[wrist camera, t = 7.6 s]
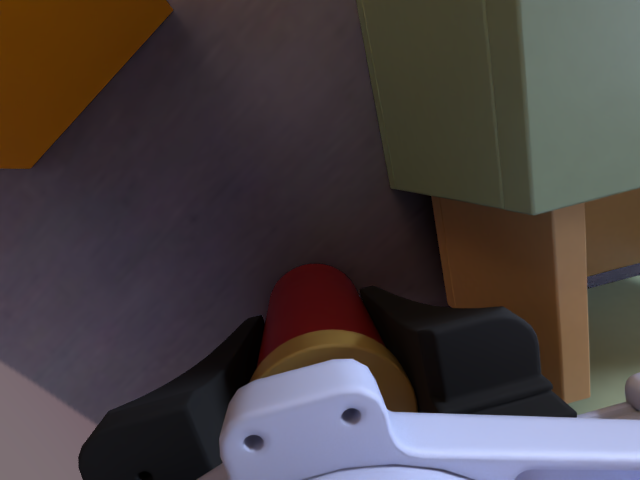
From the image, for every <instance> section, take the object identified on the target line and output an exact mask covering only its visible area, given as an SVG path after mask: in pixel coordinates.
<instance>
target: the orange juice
mask: <svg viewBox="0 0 640 480" xmlns="http://www.w3.org/2000/svg"><path fill="white" fill-rule="evenodd" d="M172 11H173V9H172V7H171V6H170V5H169V3H168V2H167V1H166V0H0V169H31V168H32V166H33V165H34V164H35V163H36V162H37V161H38V160H39V159H40V158H41V156H42V155H43V154H44V153H45V152H46V151H47V150H48V149H49V148H50V146H51V145H52V144H53V143H54V142H55V141H56V140H57V139H58V138H59V137H60V135H61V134H62V133H63V132H64V131H65V130H66V129H67V128H68V127H69V125H70V124H71V123H72V122H73V121H74V120H75V119H76V118H77V117H78V115H79V114H80V113H81V112H82V111H83V110H84V109H85V108H86V107H87V105H88V104H89V103H90V102H91V101H92V100H93V99H94V98H95V97H96V96H97V94H98V93H99V92H100V91H101V90H102V89H103V88H104V87H105V86H106V84H107V83H108V82H109V81H110V80H111V79H112V78H113V77H114V76H115V74H116V73H117V72H118V71H119V70H120V69H121V68H122V67H123V66H124V64H125V63H126V62H127V61H128V60H129V59H130V58H131V57H132V56H133V55H134V53H135V52H136V51H137V50H138V49H139V48H140V47H141V46H142V45H143V43H144V42H145V41H146V40H147V39H148V38H149V37H150V36H151V35H152V33H153V32H154V31H155V30H156V29H157V28H158V27H159V26H160V25H161V23H162V22H163V21H164V20H165V19H166V18H167V17H168V16H169V15H170V14H171V12H172Z"/></svg>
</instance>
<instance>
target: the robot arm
mask: <svg viewBox="0 0 640 480" xmlns="http://www.w3.org/2000/svg"><path fill="white" fill-rule="evenodd" d="M360 292H361V297H362V301H363V304H364V306H365V308H366V309H367V311H368V313H369V315H370V317H371V319H372V321H373V323H374V325H375V327H376V329H377V331H378V333H379V335H380V337H381V339H382V340H383V342H384V344H385V346H386V348H387V349H388V350H389V351H390V352H391V353H392V354H393V355H394V356H395V357H396V358H397V360H398V361H399V363H400V364H401V366H402V368H403V369H404V371H405V373H406V375H407V377H408V379H409V380H410V382H411V385H412V387H413V389H414V392H415V395H416V399H417V406H418V413H414V412H391V411H389V410H387V408H386V406H385V403H384V400H383V398H382V395H381V393H380V390H379V388H378V385H377V382H376V380H375V378H374V377H373V375H372V373H371V372H370V370H369V368H368V367H367V366H365V365H363V364H361V363H359V362H357V361H355V360H353V359H332V360H329V361H325V362H321V363H317V364H314V365H310V366H306V367H302V368H299V369H295V370H291V371H287V372H284V373H280V374H276V375H272V376H269V377H265V378H261V379H257V380H254V381H252V382H250V379H251V377H252V376H253V374H254V372H255V370H256V368H257V363H258V358H259V352H260V347H261V342H262V337H263V331H264V326H265V323H264V320H263V317H262V315H259V316H255V317H251V318H248V319H247V320H245V321H244V322H243V323H242V324H241V325H240V326H239V327H238V328H237V329H236V330H235V331H234V332H233V333H232V334H231V335H230V336H229V337H228V338H227V339H226V340H225V341H224V342H223V343H222V344H221V345H219V346H218V347H217V348H216V349H215V350H214V351H213V352H212V353H211V354H209V355H208V356H207V357H206V358H204V359H203V360H202V361H201V362H199V363H198V364H197V365H195V366H194V367H192V368H191V369H190V370H188V371H186V372H185V373H183V374H182V375H180V376H179V377H177V378H175V379H174V380H172V381H171V382H169V383H167V384H165V385H164V386H162V387H160V388H158V389H156V390H154V391H152V392H150V393H148V394H146V395H144V396H142V397H140V398H138V399H136V400H134V401H131V402H129V403H127V404H124V405H122V406H120V407H117V408H115V409H113V410H110V411H108V413H107V414H106V415H105V417H104V418H103V419H102V421H101V422H100V423H99V424H98V426H97V427H96V428H95V430H94V431H93V432H92V434H91V435H90V437H89V438H88V439H87V440H86V442H85V443H84V444H83V446H82V448H81V451H80V454H79V457H78V459H79V470H80V473H81V475H82V478H83V480H640V372H639V373H636V374H634V375H632V376H630V377H629V378H628V380H627V381H626V384H625V396H626V402H623V403H619V404H616V405H612V406H608V407H605V408H601V409H598V410H594V411H590V412H587V413H583V414H580V415H577V412H576V411H575V410H574V409H573V408H571V407H570V406H569V405H568V404H567V403H566V402H564V401H563V400H562V399H561V398H560V397H559V396H557V395H556V394H555V393H554V392H553V391H552V389H553V385H552V383H551V382H550V381H549V380H548V379H547V378H546V377H544V376H543V375H542V374H541V363H540V349H539V342H538V338H537V334H536V333H535V331H534V329H533V328H532V326H531V325H530V324H528V323H527V322H526V321H525V320H524V319H522V318H521V317H519V316H518V315H516V314H515V313H513V312H511V311H510V310H508V309H507V308H505V307H503V306H498V307H485V308H449V307H440V306H433V305H428V304H423V303H418V302H415V301H411V300H408V299H405V298H402V297H399V296H397V295H394V294H392V293H389V292H387V291H385V290H382V289H380V288H378V287H375V286H370V287H366V288H362V289H360ZM249 382H250V383H249Z"/></svg>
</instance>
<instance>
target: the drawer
mask: <svg viewBox="0 0 640 480" xmlns="http://www.w3.org/2000/svg"><path fill="white" fill-rule="evenodd" d="M431 198H432V204H433V211H434V217H435V224H436V231H437V237H438V244H439V250H440V257H441V263H442V270H443V276H444V283H445V290H446V296H447V303H448V305H450V306H451V307H452V308H485V307H498V306H503V307H505V308H507V309H508V310H510V311H511V312H513V313H515V314H516V315H518V316H519V317H521V318H522V319H524V320H525V321H526V322H527V323H528V324H530V325H531V326H532V328H533V329H534V331H535V333H536V334H537V338H538V342H539V349H540V363H541V374H542V375H543V376H544V377H546V378H547V379H548V380H549V381H550V382H551V383H552V385H553V389H552V391H553V392H554V393H555V394H556V395H557V396H559V397H560V398H561V399H562V400H563V401H564V402H566V403H567V404H568V405H569V406H570V407H571V408H573V409H574V410H575V411H576V412H577V415H580V414H583V413H587V412H590V411H594V410H598V409H601V408H605V407H608V406H612V405H616V404H619V403H623V402H626V396H625V384H626V381H627V380H628V378H629V377H630V376H632V375H634V374H636V373H639V372H640V275H638V276H634V277H631V278H627V279H623V280H619V281H616V282H612V283H608V284H604V285H601V286H597V287H593V288H589V289H587V277H588V276H592V275H595V274H599V273H603V272H607V271H610V270H614V269H618V268H622V267H626V266H629V265H633V264H637V263H640V188H638V189H634V190H630V191H627V192H623V193H619V194H615V195H611V196H607V197H603V198H600V199H596V200H592V201H588V202H584V203H580V204H576V205H572V206H569V207H565V208H561V209H557V210H553V211H549V212H545V213H541V214H538V215H528V214H523V213H518V212H512V211H507V210H504V209H499V208H493V207H488V206H483V205H477V204H472V203H467V202H461V201H456V200H451V199H445V198H440V197H435V196H431Z"/></svg>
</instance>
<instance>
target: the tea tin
mask: <svg viewBox="0 0 640 480" xmlns="http://www.w3.org/2000/svg"><path fill="white" fill-rule="evenodd" d="M332 359H353V360H355V361H357V362H359V363H361V364H363V365H365V366H367V367H368V368H369V370H370V372H371V373H372V375H373V377H374V378H375V380H376V382H377V385H378V388H379V390H380V393H381V395H382V398H383V400H384V403H385V406H386V408H387V410H389V411H391V412H414V413H418V406H417V399H416V395H415V392H414V389H413V387H412V385H411V382H410V380H409V379H408V377H407V375H406V373H405V371H404V369H403V368H402V366H401V364H400V363H399V361H398V360H397V358H396V357H395V356H394V355H393V354H392V353H391V352H390V351H389V350H388V349H387V348H386V346H385V344H384V342H383V340H382V339H381V337H380V335H379V333H378V331H377V329H376V327H375V325H374V323H373V321H372V319H371V317H370V315H369V313H368V311H367V309H366V308H365V306H364V304H363V302H362V300H361V298H360V296H359V294H358V292H357V290H356V288H355V286H354V284H353V283H352V281H351V280H350V279H349V278H348V277H347V276H346V275H345V274H344V273H343V272H341V271H340V270H338V269H336V268H334V267H332V266H328V265H324V264H307V265H302V266H299V267H296V268H294V269H292V270H291V271H289V272H287V273H286V274H285V275H284V276H282V277H281V279H280V280H279V281H278V282H277V283H276V285H275V287H274V288H273V290H272V293H271V296H270V300H269V305H268V311H267V316H266V321H265V326H264V331H263V337H262V342H261V347H260V352H259V358H258V363H257V368H256V370H255V372H254V374H253V376H252V377H251V379H250V382H252V381H254V380H257V379H261V378H265V377H269V376H272V375H276V374H280V373H284V372H287V371H291V370H295V369H299V368H302V367H306V366H310V365H314V364H317V363H321V362H325V361H329V360H332ZM250 382H249V383H250Z"/></svg>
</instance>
